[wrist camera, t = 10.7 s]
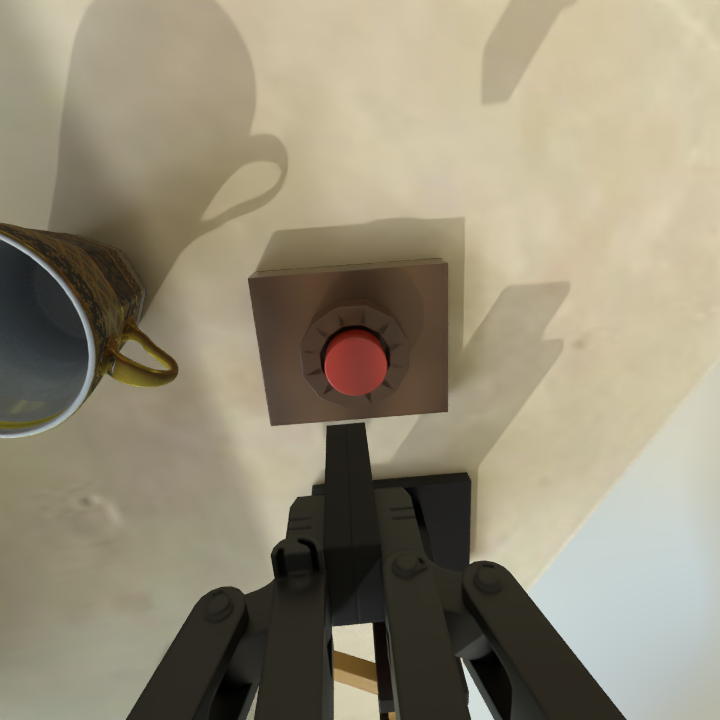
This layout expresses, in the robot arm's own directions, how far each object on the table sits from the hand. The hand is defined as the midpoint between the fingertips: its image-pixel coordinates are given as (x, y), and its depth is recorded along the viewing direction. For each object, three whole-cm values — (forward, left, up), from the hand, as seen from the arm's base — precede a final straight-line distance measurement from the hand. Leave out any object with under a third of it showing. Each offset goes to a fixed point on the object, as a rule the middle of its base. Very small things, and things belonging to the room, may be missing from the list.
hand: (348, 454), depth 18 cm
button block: (+1, 0, -14) cm, 14 cm away
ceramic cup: (-14, +4, -14) cm, 20 cm away
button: (+1, 0, -10) cm, 10 cm away
